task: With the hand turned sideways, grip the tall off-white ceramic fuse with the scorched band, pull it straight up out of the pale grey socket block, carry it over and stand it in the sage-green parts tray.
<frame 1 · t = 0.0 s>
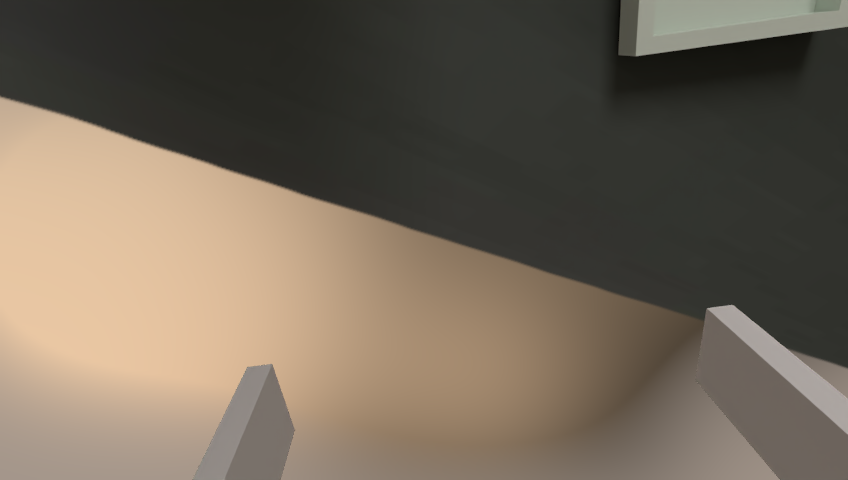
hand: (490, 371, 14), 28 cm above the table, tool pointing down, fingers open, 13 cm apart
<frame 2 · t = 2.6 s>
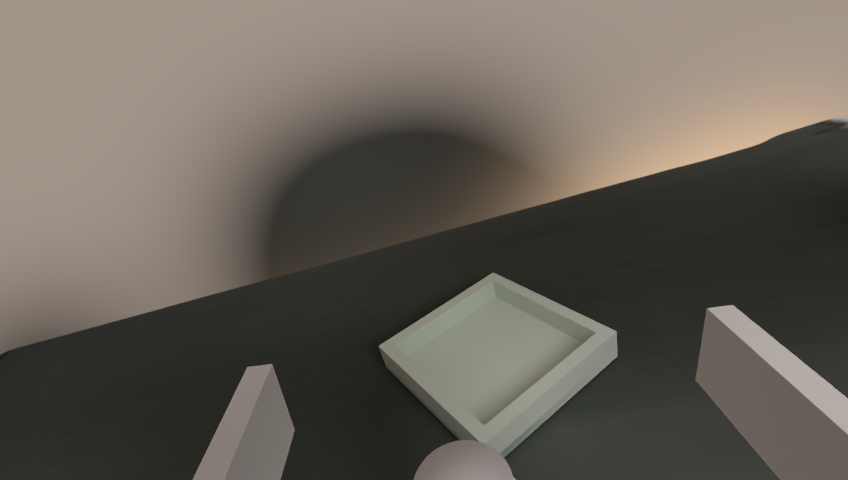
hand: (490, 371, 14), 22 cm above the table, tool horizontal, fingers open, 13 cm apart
parts tray: (494, 362, 44), on the table
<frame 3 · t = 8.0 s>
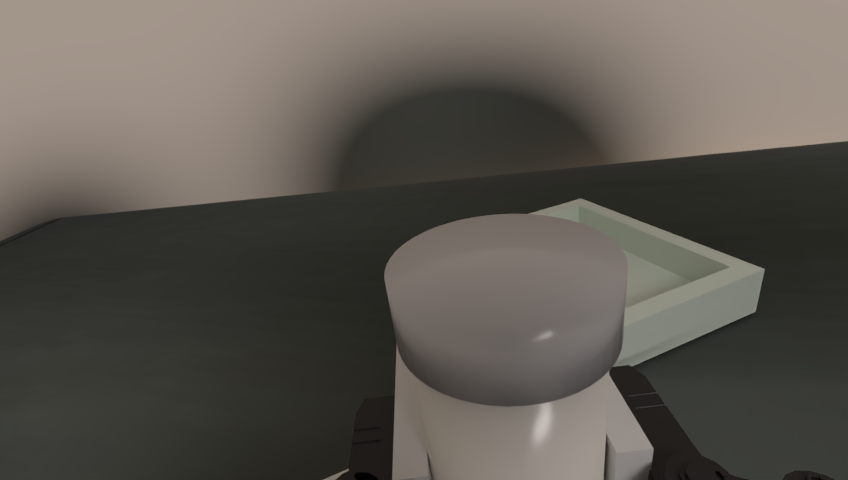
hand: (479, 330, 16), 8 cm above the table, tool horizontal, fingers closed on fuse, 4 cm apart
parts tray: (564, 292, 32), on the table
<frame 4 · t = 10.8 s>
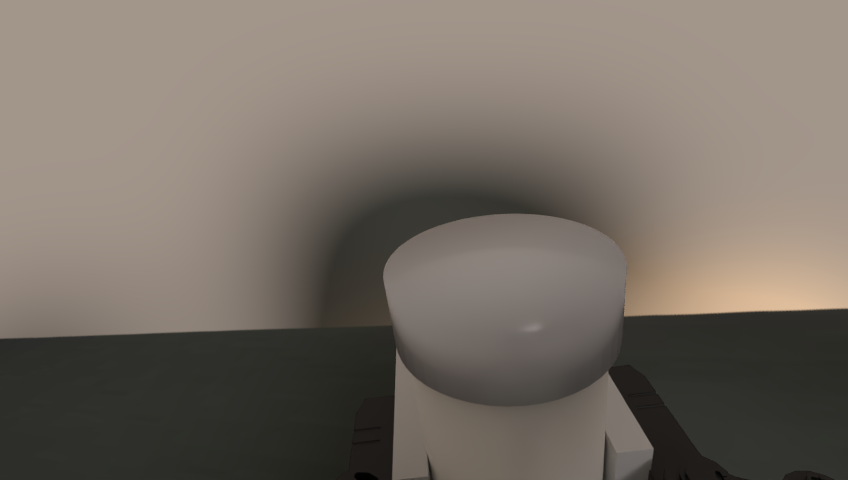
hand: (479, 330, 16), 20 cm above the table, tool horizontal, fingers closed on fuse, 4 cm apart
when the fingers open (10 cm above the table, at t = 13.5 s): fuse drops 1 cm, resting on parts tray.
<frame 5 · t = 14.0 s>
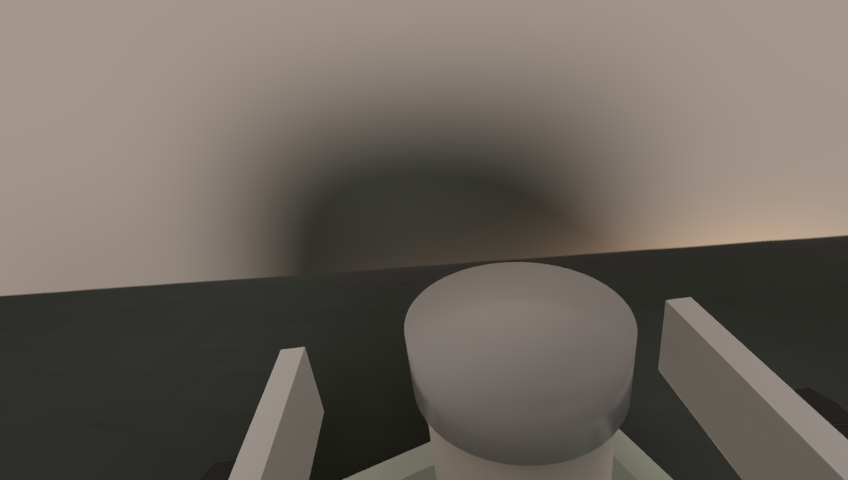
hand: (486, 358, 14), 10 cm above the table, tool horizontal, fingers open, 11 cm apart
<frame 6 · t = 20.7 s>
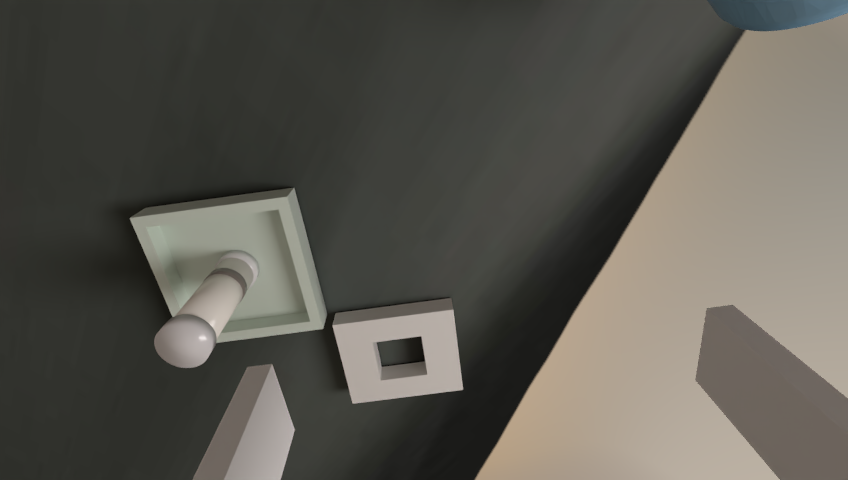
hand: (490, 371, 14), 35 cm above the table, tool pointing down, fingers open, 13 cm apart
socket block: (400, 345, 56), on the table
fuse: (215, 301, 43), in the parts tray, point 8 cm above the table
parts tray: (242, 264, 50), on the table
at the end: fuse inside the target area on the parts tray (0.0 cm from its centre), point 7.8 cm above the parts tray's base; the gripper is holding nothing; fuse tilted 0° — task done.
